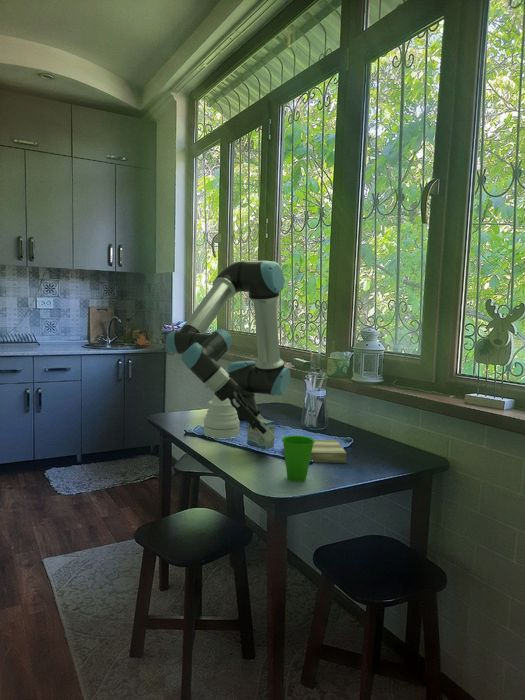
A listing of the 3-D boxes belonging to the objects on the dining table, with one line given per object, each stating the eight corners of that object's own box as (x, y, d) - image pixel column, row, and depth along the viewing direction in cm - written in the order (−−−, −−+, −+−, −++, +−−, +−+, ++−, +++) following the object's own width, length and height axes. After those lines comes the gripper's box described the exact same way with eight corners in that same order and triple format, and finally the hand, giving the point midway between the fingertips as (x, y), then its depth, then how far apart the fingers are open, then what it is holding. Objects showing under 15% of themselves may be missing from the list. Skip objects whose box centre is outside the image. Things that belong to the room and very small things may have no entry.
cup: (280, 483, 131) (281, 443, 130) (280, 472, 140) (282, 434, 139) (313, 485, 131) (315, 445, 130) (312, 473, 140) (313, 436, 139)
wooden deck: (283, 447, 163) (283, 439, 163) (336, 448, 164) (337, 440, 164) (287, 461, 149) (288, 452, 149) (345, 462, 150) (346, 453, 150)
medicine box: (246, 445, 157) (247, 418, 156) (255, 442, 161) (256, 416, 160) (265, 450, 152) (266, 423, 151) (274, 447, 156) (275, 420, 155)
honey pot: (216, 427, 186) (217, 381, 184) (245, 433, 180) (247, 384, 178) (196, 435, 174) (197, 385, 173) (227, 441, 168) (228, 390, 167)
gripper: (214, 386, 164) (260, 433, 167) (211, 400, 143) (264, 453, 146) (230, 371, 164) (276, 418, 167) (230, 382, 143) (282, 436, 146)
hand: (271, 434), depth 156 cm, fingers closed on medicine box, 8 cm apart
